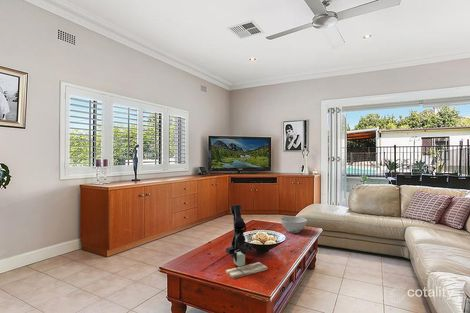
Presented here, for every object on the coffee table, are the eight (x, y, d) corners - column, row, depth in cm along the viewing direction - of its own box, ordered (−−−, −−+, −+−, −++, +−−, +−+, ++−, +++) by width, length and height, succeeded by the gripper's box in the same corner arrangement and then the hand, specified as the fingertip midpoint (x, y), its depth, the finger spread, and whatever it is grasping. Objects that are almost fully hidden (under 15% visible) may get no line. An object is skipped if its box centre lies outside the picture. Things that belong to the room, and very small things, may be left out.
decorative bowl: (308, 228, 274) (308, 217, 274) (305, 236, 249) (305, 223, 249) (282, 226, 283) (282, 215, 283) (277, 233, 258) (278, 221, 258)
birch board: (225, 272, 171) (225, 270, 171) (259, 264, 185) (259, 261, 185) (233, 278, 162) (233, 276, 162) (267, 269, 176) (267, 267, 176)
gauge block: (231, 261, 186) (231, 251, 186) (237, 259, 188) (237, 250, 188) (238, 266, 177) (238, 256, 177) (244, 264, 179) (245, 254, 179)
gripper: (233, 244, 169) (233, 268, 170) (256, 239, 179) (256, 262, 179) (225, 239, 179) (225, 262, 179) (248, 235, 189) (247, 256, 189)
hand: (239, 260), depth 181 cm, fingers closed on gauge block, 5 cm apart
